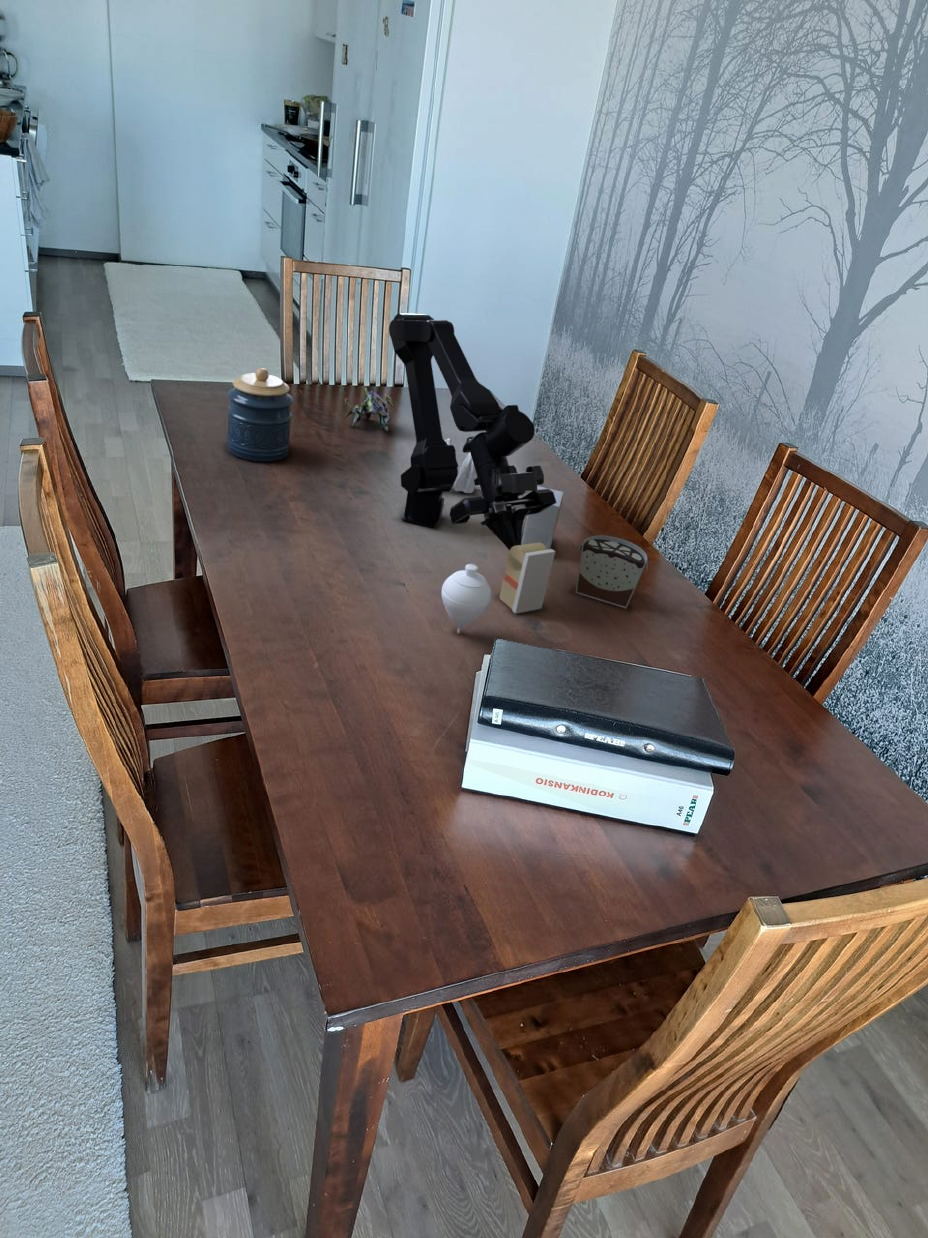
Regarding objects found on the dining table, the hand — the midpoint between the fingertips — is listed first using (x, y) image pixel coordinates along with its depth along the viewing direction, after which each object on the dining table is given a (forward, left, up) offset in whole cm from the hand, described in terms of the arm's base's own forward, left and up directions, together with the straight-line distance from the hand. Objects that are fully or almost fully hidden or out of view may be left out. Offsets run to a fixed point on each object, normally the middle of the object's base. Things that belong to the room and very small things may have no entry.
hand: (517, 554), depth 152 cm
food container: (+16, +9, -8) cm, 20 cm away
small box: (+2, +22, -8) cm, 23 cm away
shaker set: (-19, +39, -8) cm, 44 cm away
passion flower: (-44, +64, -8) cm, 78 cm away
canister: (-60, +36, -8) cm, 70 cm away
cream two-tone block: (+2, -2, -8) cm, 8 cm away
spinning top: (-6, -16, -8) cm, 19 cm away
